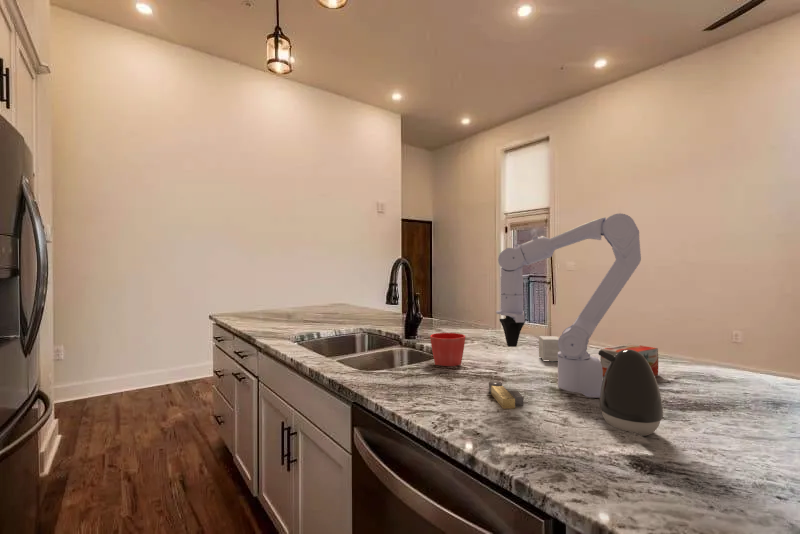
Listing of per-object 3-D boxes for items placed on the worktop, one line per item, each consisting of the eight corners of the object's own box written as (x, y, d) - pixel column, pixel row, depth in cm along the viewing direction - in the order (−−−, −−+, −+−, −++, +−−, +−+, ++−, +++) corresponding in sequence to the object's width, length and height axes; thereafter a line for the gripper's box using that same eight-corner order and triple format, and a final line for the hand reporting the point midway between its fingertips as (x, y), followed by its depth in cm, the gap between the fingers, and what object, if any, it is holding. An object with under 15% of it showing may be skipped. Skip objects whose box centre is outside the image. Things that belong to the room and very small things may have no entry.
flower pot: (424, 364, 119) (424, 333, 119) (456, 361, 123) (456, 331, 123) (438, 372, 109) (438, 339, 109) (471, 369, 112) (471, 337, 112)
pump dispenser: (604, 415, 78) (604, 341, 78) (665, 428, 71) (665, 348, 71) (592, 431, 70) (592, 350, 70) (659, 449, 63) (659, 359, 63)
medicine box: (629, 369, 114) (629, 342, 114) (659, 375, 107) (659, 347, 107) (599, 376, 106) (599, 348, 106) (628, 384, 99) (628, 353, 99)
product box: (557, 357, 127) (557, 336, 127) (562, 362, 121) (562, 339, 121) (538, 357, 128) (538, 335, 128) (542, 361, 122) (542, 339, 122)
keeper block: (517, 400, 83) (517, 390, 83) (523, 406, 79) (523, 397, 79) (508, 400, 83) (508, 390, 83) (513, 406, 79) (513, 397, 79)
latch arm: (487, 390, 89) (487, 381, 89) (499, 390, 90) (499, 381, 90) (501, 408, 78) (501, 398, 78) (516, 408, 78) (516, 397, 78)
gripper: (490, 292, 106) (490, 340, 106) (503, 296, 92) (504, 352, 92) (515, 292, 106) (515, 340, 106) (533, 296, 92) (533, 352, 92)
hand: (511, 346), depth 99 cm, fingers closed
